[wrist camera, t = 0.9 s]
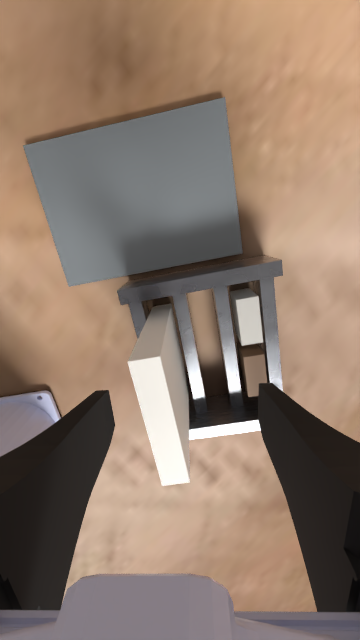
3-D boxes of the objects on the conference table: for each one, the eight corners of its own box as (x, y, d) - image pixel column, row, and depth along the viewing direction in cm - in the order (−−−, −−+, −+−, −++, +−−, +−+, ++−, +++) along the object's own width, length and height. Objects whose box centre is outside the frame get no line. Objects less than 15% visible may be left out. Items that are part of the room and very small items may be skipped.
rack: (162, 412, 25) (158, 444, 21) (129, 280, 21) (117, 290, 18) (276, 395, 24) (293, 425, 21) (263, 255, 20) (281, 259, 17)
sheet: (171, 387, 24) (162, 485, 15) (152, 306, 22) (127, 361, 13) (188, 385, 24) (189, 482, 15) (171, 303, 22) (160, 356, 12)
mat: (71, 285, 22) (68, 286, 21) (27, 147, 19) (23, 145, 18) (241, 252, 20) (242, 253, 20) (224, 100, 17) (225, 97, 17)
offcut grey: (234, 331, 23) (241, 345, 20) (229, 291, 22) (235, 300, 19) (253, 328, 23) (263, 342, 20) (249, 287, 21) (258, 296, 19)
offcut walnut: (241, 377, 24) (248, 397, 21) (236, 342, 23) (243, 357, 20) (258, 375, 24) (268, 394, 21) (254, 339, 23) (264, 354, 20)
